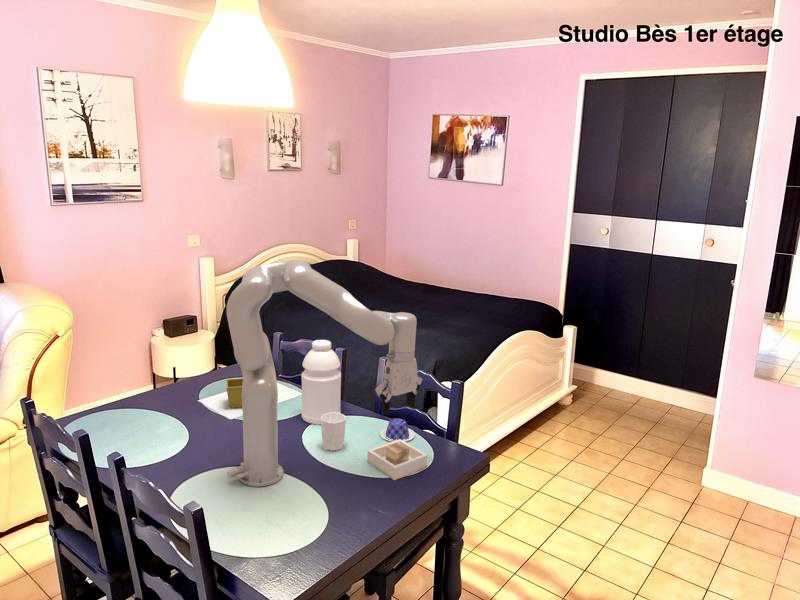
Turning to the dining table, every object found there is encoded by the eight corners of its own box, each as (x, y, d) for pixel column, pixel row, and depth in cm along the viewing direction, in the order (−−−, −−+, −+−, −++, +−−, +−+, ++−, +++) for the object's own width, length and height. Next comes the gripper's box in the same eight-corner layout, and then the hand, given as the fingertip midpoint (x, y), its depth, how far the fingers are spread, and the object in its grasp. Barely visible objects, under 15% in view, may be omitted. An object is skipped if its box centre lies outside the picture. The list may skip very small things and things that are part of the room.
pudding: (402, 447, 193) (402, 432, 192) (372, 437, 199) (372, 422, 198) (421, 434, 203) (422, 420, 202) (392, 424, 209) (393, 411, 208)
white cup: (341, 453, 187) (341, 424, 185) (317, 450, 188) (317, 421, 186) (348, 442, 195) (348, 413, 192) (325, 439, 196) (325, 411, 194)
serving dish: (394, 480, 172) (394, 467, 172) (367, 462, 182) (367, 450, 181) (427, 467, 181) (427, 455, 180) (399, 450, 190) (400, 439, 189)
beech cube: (395, 468, 178) (396, 453, 177) (385, 461, 181) (386, 446, 180) (408, 463, 181) (409, 448, 180) (398, 456, 185) (398, 442, 183)
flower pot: (226, 401, 223) (225, 378, 220) (250, 399, 225) (250, 377, 223) (227, 411, 214) (226, 387, 212) (252, 408, 217) (251, 385, 215)
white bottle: (323, 428, 203) (324, 351, 197) (293, 418, 210) (292, 343, 204) (348, 414, 215) (349, 341, 209) (318, 405, 222) (319, 334, 216)
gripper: (386, 363, 165) (383, 420, 169) (431, 353, 176) (427, 407, 180) (370, 356, 170) (367, 411, 174) (414, 347, 182) (411, 399, 185)
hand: (397, 409), depth 177 cm, fingers open, 9 cm apart
